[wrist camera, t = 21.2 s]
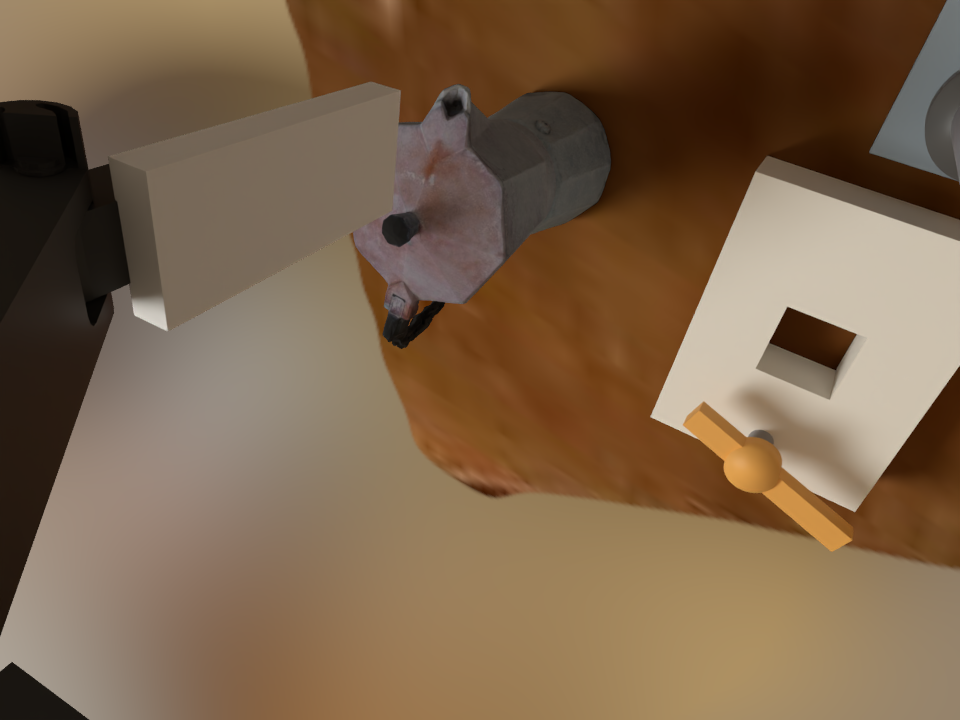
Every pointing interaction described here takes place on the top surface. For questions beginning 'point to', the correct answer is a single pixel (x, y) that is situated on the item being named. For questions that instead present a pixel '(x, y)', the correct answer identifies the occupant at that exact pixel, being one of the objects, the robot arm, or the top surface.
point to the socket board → (834, 299)
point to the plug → (945, 127)
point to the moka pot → (478, 196)
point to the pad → (921, 94)
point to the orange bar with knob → (767, 476)
